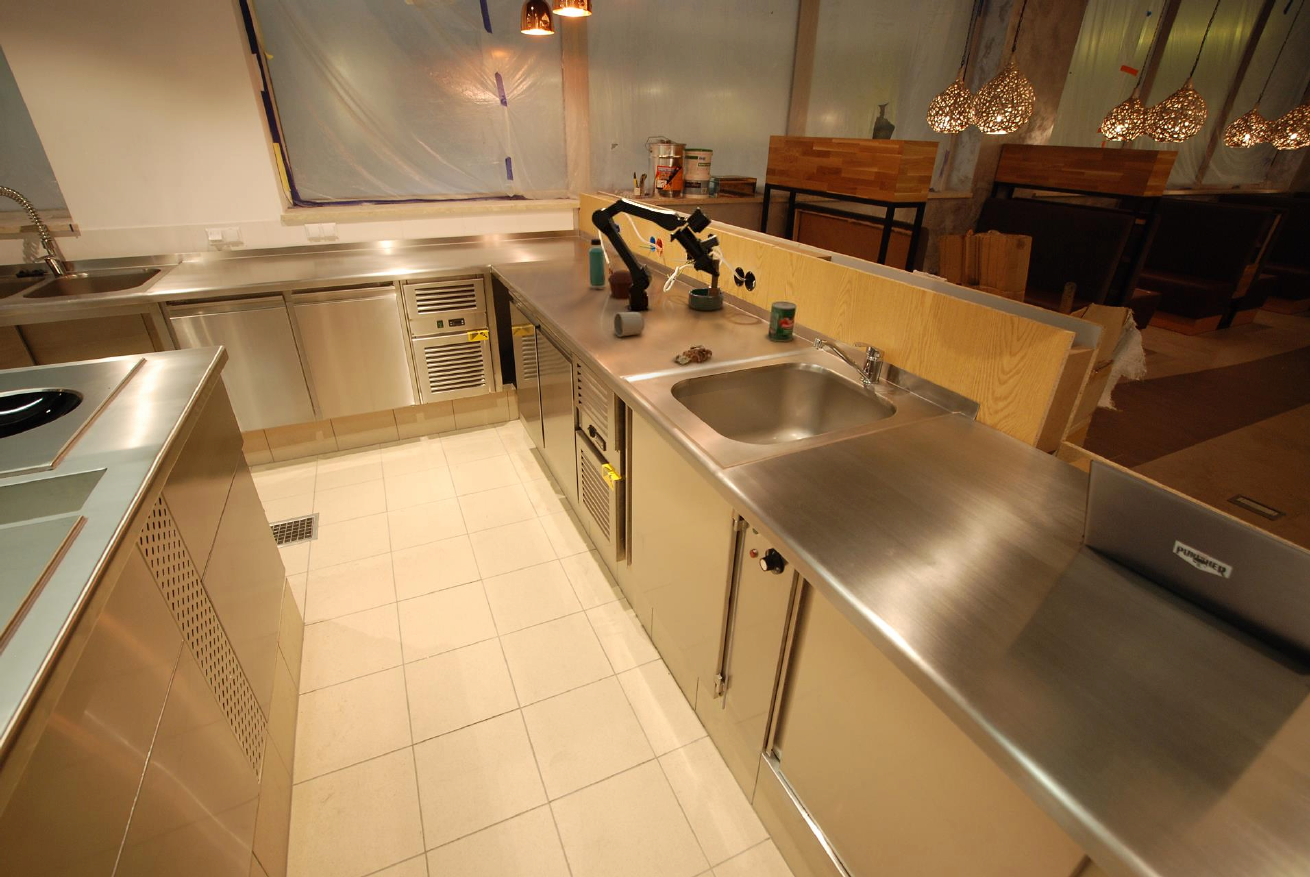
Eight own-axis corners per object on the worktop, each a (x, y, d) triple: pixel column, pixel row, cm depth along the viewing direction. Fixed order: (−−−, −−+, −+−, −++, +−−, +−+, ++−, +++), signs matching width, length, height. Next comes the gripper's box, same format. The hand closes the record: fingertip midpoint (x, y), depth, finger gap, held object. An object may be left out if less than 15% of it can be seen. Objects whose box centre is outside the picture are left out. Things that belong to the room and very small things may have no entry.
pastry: (670, 360, 169) (670, 348, 168) (697, 351, 177) (698, 340, 175) (687, 367, 165) (688, 355, 163) (715, 357, 172) (715, 346, 171)
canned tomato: (787, 343, 185) (791, 309, 180) (764, 338, 188) (767, 305, 183) (795, 336, 191) (800, 303, 185) (773, 332, 194) (777, 300, 189)
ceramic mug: (645, 336, 189) (645, 313, 185) (623, 339, 185) (622, 316, 181) (631, 327, 197) (630, 305, 193) (609, 330, 193) (608, 308, 190)
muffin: (632, 291, 239) (632, 267, 234) (640, 298, 230) (640, 273, 225) (605, 293, 236) (604, 268, 231) (611, 300, 227) (611, 274, 222)
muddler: (716, 297, 208) (719, 260, 202) (705, 295, 210) (708, 259, 204) (721, 294, 212) (724, 258, 205) (710, 292, 213) (713, 257, 207)
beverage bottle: (603, 290, 240) (601, 240, 231) (587, 289, 241) (585, 239, 232) (607, 286, 246) (606, 238, 236) (592, 285, 247) (590, 237, 237)
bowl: (695, 312, 214) (696, 297, 211) (683, 303, 225) (684, 289, 222) (728, 310, 217) (729, 295, 215) (714, 301, 228) (715, 287, 226)
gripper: (705, 230, 192) (735, 266, 196) (708, 222, 208) (736, 255, 212) (681, 253, 196) (710, 287, 200) (686, 244, 213) (713, 275, 217)
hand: (718, 275), depth 207 cm, fingers closed on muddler, 2 cm apart
